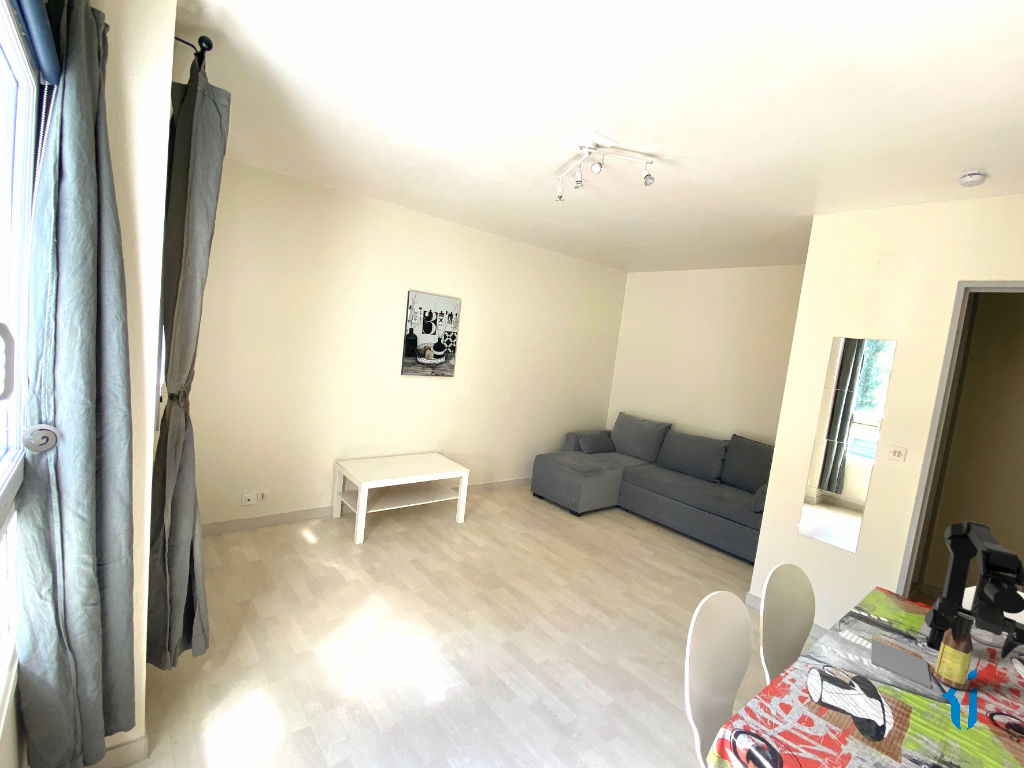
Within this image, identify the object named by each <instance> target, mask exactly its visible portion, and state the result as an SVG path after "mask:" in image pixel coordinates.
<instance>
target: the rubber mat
mask: <svg viewBox="0 0 1024 768" xmlns="http://www.w3.org/2000/svg"><path fill="white" fill-rule="evenodd" d="M870 657H871V660H870V661H871V664H872V665H874V666H876V667H879V668H881V669H883V670H885V671H888V672H891V673H893V674H895V675H897V676H900V677H902V678H904V679H907V680H909V681H911V682H914V683H915V684H916V683H917V684H918V685H921V686H923V687H926V688H928V689H930V690H931V689H932V685H931V678H930V671H929V665H928V660H926V659H923V658H921V657H918V656H915V655H913V654H911V653H907V652H905V651H903V650H901V649H898V648H896V647H892V646H890V645H887V644H885V643H883V642H880V641H877V640H875V639H873V638H872V641H871V656H870Z"/></svg>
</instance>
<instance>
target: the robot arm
mask: <svg viewBox="0 0 1024 768" xmlns="http://www.w3.org/2000/svg"><path fill="white" fill-rule="evenodd" d="M944 539H945V545H946V547H947V549H948V550H949V552H950V554H949V560H948V563H947V569H946V576H945V579H944V586H943V590H942V595H941V596H938V597H937V599H936V601H933V605H932V607H931V608H930V609H929V610H928V611H927V612H926V613H925V615H924V622H925V624H926V625H927V627H928V628H930V631H929V635H928V636H925V642H926V646H927V647H928V648H931V649H934V650H936V651H938V652H939V651H940V646H941V642H942V641H943V636H944V633H945V631H947V630H948V629H950V628H951V631H952V637H953V640H954V641H955V639H956V633H957V621H958V619H957V615H958V614H961V615H963V616H966V617H969V618H972V619H974V626H975V627H976V628H977V629H978V630H982V631H986V632H989V633H991V634H994V635H995V636H1002V635H1003V633H1005V634H1007V635H1006V637H1005V640H1004V643H1003V645H1002V648H1001V650H1000V658H1001V659H1002V660H1004V659H1005V658H1006V657H1007V656H1008V655H1009V654H1011V652H1012V651H1013V650H1015V649H1016V648H1018V647H1021V646H1024V623H1022V622H1018V621H1017V620H1015V619H1013V618H1010V617H1007V616H1005V613H1006V614H1011V615H1013V614H1019V613H1020V614H1021V613H1022V612H1023V611H1024V597H1023V596H1022V595H1021V594H1020V593H1019V592H1018V590H1019V588H1018V587H1017V586H1020V587H1024V564H1023V561H1022V560H1021V558H1020V557H1019V555H1018V554H1016V553H1015V552H1014V551H1013V550H1011V549H1008V548H1006V547H1003V546H1002V545H1001V544H1000V543H999V541H998V540H997V539H996V537H995V536H994V535H993V533H992V532H991V531H990V527H989V526H988V525H986V524H984V523H980V522H975V521H971V520H965V521H963V522H961V523H960V522H959V523H953V524H952V523H951V524H950V525H948V526H947V527H946V528H945V529H944ZM974 558H976V563H977V568H978V571H979V574H978V577H977V578H978V579H977V582H976V586H975V590H974V594H973V599H972V602H971V605H970V607H971V608H970V609H967V608H964V607H963V602H964V597H965V591H966V587H967V582H968V576H969V571H970V565H971V561H972V559H974ZM1004 612H1005V613H1004Z"/></svg>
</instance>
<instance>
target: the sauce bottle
mask: <svg viewBox="0 0 1024 768" xmlns="http://www.w3.org/2000/svg"><path fill="white" fill-rule="evenodd" d="M957 619H958V621H957V633H956V639H955V641H954V640H953V637H952V631H951V628H950V629H948V630H947V631H945V633H944V636H943V641H942V642H941V646H940V651H938V656H937V659H936V665H935V669H934V676H935V678H936V679H937V680H938V681H939V682H941V683H942V684H944V685H946V686H949V687H950V688H953V689H957V690H962V689H964V686H965V685H966V681H967V676H968V674H969V668H970V665H971V660H972V656H973V652H974V646H973V645H974V644H973V639H972V635H971V634H972V627H973V625H975V619H972V618H969V617H966V616H963V615H961V614H958V615H957Z"/></svg>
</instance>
